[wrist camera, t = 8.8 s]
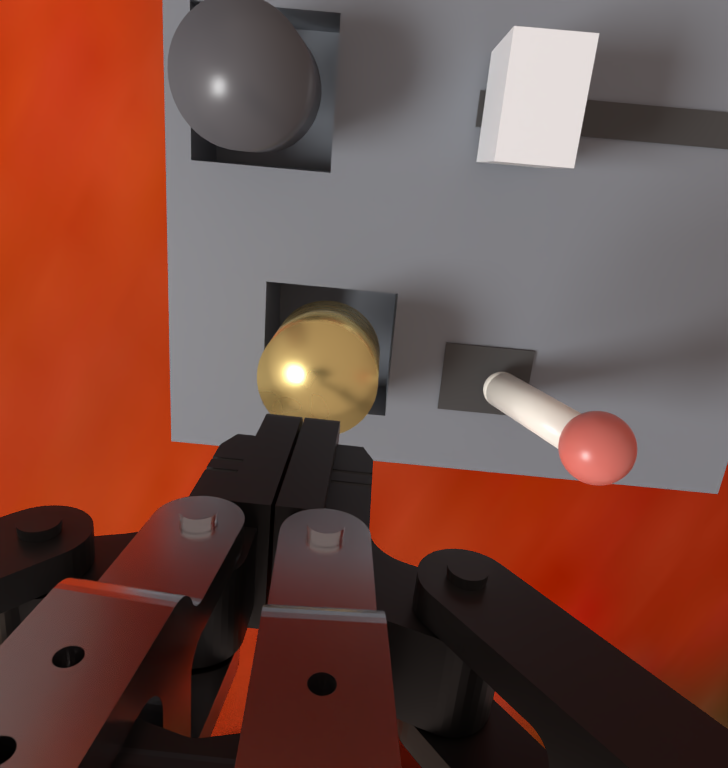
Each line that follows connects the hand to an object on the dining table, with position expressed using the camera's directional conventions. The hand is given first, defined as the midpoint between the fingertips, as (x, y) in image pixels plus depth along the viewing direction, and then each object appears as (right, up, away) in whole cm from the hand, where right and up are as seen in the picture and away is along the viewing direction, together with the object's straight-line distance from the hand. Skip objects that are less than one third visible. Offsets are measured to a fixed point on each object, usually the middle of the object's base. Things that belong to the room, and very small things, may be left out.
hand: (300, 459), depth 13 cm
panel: (+5, +7, +11) cm, 14 cm away
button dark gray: (-2, +10, +6) cm, 12 cm away
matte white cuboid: (+6, +10, +6) cm, 13 cm away
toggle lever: (+5, +2, +9) cm, 10 cm away
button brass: (0, +3, +9) cm, 9 cm away
